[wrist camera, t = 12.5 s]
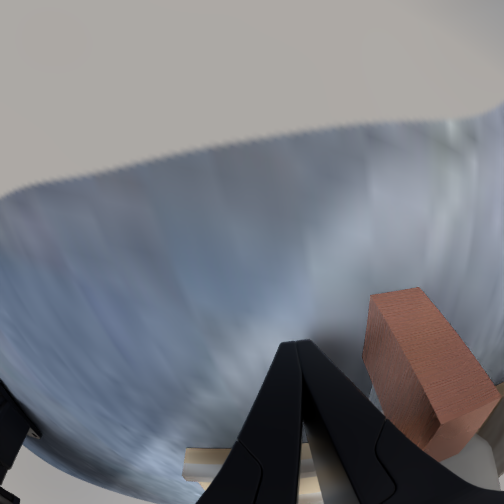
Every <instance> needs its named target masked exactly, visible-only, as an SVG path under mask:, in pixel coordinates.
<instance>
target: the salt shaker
mask: <svg viewBox="0 0 504 504" xmlns="http://www.w3.org/2000/svg"><path fill="white" fill-rule="evenodd" d="M439 463H441V464H442V465H444V466H445V467H446V468H448V469H449V470H451V471H452V472H453V473H455V474H456V475H458V476H459V477H461V478H462V479H464V480H465V481H467V482H469V483H471V484H473V485H475V486H478V487H481V488H485V489H491V490H499V491H501V489H500V483H499V478H498V473H497V469H496V464H495V460H494V456H493V452H492V448H491V446H490V445H489V443H488V442H487V441H486V440H484V439H483V438H482V437H480V436H479V435H477V434H476V433H475V435H474V436H473V437H472V438H471V440H470V441H469V442H468V443H467V444H466V446H465V447H464V448H463V449H462V450H461V451H460V453H459V454H456V455H454V456H452V457H450V458H448V459H445V460H443V461H441V462H439Z"/></svg>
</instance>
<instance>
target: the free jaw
mask: <svg viewBox="0 0 504 504" xmlns="http://www.w3.org/2000/svg"><path fill="white" fill-rule="evenodd" d="M362 358H363V361H364V363H365V366H366V368H367V371H368V373H369V376H370V379H371V381H372V388H371V392H370V396H369V400H370V401H371V402H372V403H373V404H374V405H375V406H376V407H377V408H378V409H379V410H380V411H381V412H382V413H383V414H384V415H385V416H386V419H389V420H390V421H391V422H392V423H393V424H394V425H395V426H396V427H397V428H398V429H399V430H400V431H401V432H402V433H403V434H404V435H405V436H406V437H407V438H408V439H410V440H411V441H412V442H413V443H414V444H416V445H417V446H418V447H419V448H421V449H422V450H423V451H424V452H426V453H427V454H428V455H430V456H431V457H432V458H434V459H435V460H437V461H438V462H441V461H443V460H445V459H448V458H450V457H452V456H454V455H456V454H459V453H460V451H461V450H462V449H463V448H464V447H465V446H466V444H467V443H468V442H469V441H470V440H471V438H472V437H473V436H474V435H475V433H476V432H477V431H478V429H479V428H480V427H481V425H482V424H483V423H484V421H485V420H486V419H487V417H488V416H489V414H490V413H491V412H492V410H493V409H494V407H495V406H496V404H497V403H498V401H499V400H500V398H501V397H502V396H501V395H500V393H499V392H498V390H497V389H496V387H495V386H494V384H493V383H492V381H491V380H490V378H489V377H488V375H487V374H486V372H485V371H484V369H483V368H482V367H481V365H480V364H479V362H478V361H477V360H476V358H475V357H474V355H473V354H472V353H471V351H470V350H469V349H468V347H467V346H466V345H465V343H464V342H463V341H462V339H461V338H460V337H459V335H458V334H457V333H456V331H455V330H454V329H453V328H452V326H451V325H450V324H449V323H448V321H447V320H446V319H445V318H444V316H443V315H442V314H441V313H440V311H439V310H438V309H437V308H436V307H435V305H434V304H433V303H432V302H431V301H430V299H429V298H428V297H427V296H426V295H425V293H424V292H423V291H422V290H421V289H420V288H419V287H417V288H411V289H405V290H399V291H393V292H387V293H381V294H375V295H370V304H369V312H368V320H367V328H366V335H365V342H364V348H363V354H362Z"/></svg>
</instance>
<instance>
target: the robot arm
mask: <svg viewBox="0 0 504 504" xmlns="http://www.w3.org/2000/svg"><path fill="white" fill-rule="evenodd" d="M303 424H304V428H305V432H306V436H307V439H308V443H309V447H310V451H311V455H312V459H313V463H314V467H315V471H316V475H317V479H318V482H319V486H320V490H321V494H322V498H323V502H324V504H504V491H499V490H491V489H485V488H481V487H478V486H475V485H473V484H471V483H469V482H467V481H465V480H464V479H462V478H461V477H459V476H458V475H456V474H455V473H453V472H452V471H451V470H449V469H448V468H446V467H445V466H444V465H442V464H441V463H439V462H438V461H437V460H435V459H434V458H432V457H431V456H430V455H428V454H427V453H426V452H424V451H423V450H422V449H421V448H419V447H418V446H417V445H416V444H414V443H413V442H412V441H411V440H410V439H408V438H407V437H406V436H405V435H404V434H403V433H402V432H401V431H400V430H399V429H398V428H397V427H396V426H395V425H394V424H393V423H392V422H391V421H390V420H389V419H386V416H385V415H384V414H383V413H382V412H381V411H380V410H379V409H378V408H377V407H376V406H375V405H374V404H373V403H372V402H371V401H370V400H369V399H368V398H367V397H366V396H365V395H364V394H363V393H362V392H361V391H360V390H359V389H358V388H357V387H356V386H355V385H354V384H353V383H352V382H351V381H350V380H349V379H348V378H347V377H346V376H345V375H344V374H343V373H342V372H341V371H340V369H339V368H338V367H337V366H336V365H335V364H334V363H333V362H332V361H331V360H330V359H329V358H328V357H327V356H326V355H325V354H324V353H323V352H322V351H321V350H320V349H319V348H318V347H317V346H316V345H315V344H314V343H313V341H312V340H310V339H305V340H297V341H296V342H295V341H288V342H282V343H280V345H279V347H278V350H277V352H276V354H275V357H274V359H273V361H272V364H271V366H270V368H269V371H268V373H267V375H266V377H265V380H264V382H263V384H262V386H261V388H260V391H259V393H258V395H257V397H256V399H255V402H254V404H253V406H252V408H251V410H250V412H249V414H248V416H247V419H246V421H245V423H244V425H243V427H242V429H241V431H240V433H239V435H238V437H237V440H238V441H235V443H234V445H233V447H232V449H231V451H230V453H229V455H228V456H227V458H226V460H225V462H224V464H223V465H222V467H221V469H220V470H219V472H218V473H217V475H216V476H215V478H214V479H213V481H212V482H211V484H210V485H209V487H208V488H207V489H206V491H205V492H204V493H203V494H202V496H201V497H200V498H199V500H198V501H197V502H196V503H195V504H298V502H299V488H300V472H301V454H302V431H303ZM27 435H29V436H31V437H34V438H37V439H41V437H42V434H41V432H40V431H39V430H38V429H37V428H36V427H35V426H34V425H33V424H32V423H31V421H30V420H29V419H28V418H27V417H26V416H25V415H24V413H23V412H22V411H21V410H20V409H19V407H18V406H17V405H16V404H15V402H14V401H13V400H12V399H11V397H10V396H9V395H8V394H7V392H6V391H5V390H4V388H3V387H2V386H1V384H0V485H2V483H3V480H4V478H5V475H6V473H7V471H8V470H10V469H11V468H12V465H13V463H14V461H15V459H16V457H17V454H18V452H19V450H20V448H21V446H22V444H23V442H24V440H25V438H26V436H27ZM0 504H20V498H18V497H17V496H15V495H14V494H12V493H10V492H8V491H6V490H5V489H3V488H2V487H0Z"/></svg>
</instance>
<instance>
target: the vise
mask: <svg viewBox="0 0 504 504" xmlns="http://www.w3.org/2000/svg"><path fill="white" fill-rule="evenodd" d="M495 387H496V389H497V390H498V392H499V393H500V395H501V396H502V397H501V398H500V400H499V401H498V403H497V404H496V406H495V407H494V409H493V410H492V412H491V413H490V414H489V416H488V417H487V419H486V420H485V421H484V423H483V424H482V425H481V427H480V428H479V429H478V431H477V432H476V434H477V435H479V436H480V437H482V438H483V439H484V440H486V441H487V442H488V443H489V445H490V446H491V448H492V452H493V456H494V460H495V464H496V469H497V473H498V478H499V477H500V476H501V475H502V474H503V473H504V382H503V383H501V384H499V385H497V386H495ZM230 451H231V449H200V448H186V452H185V459H184V465H183V472H182V476H183V477H184V479H185V480H186V481H194V482H199V484H200V485H201V486H202V487H203V489H204V490H205V491H206V489H207V488H208V487H209V485H210V484H211V482H212V481H213V479H214V478H215V476H216V475H217V473H218V472H219V470H220V469H221V467H222V465H223V464H224V462H225V460H226V458H227V456H228V455H229V453H230ZM298 504H324V502H323V498H322V494H321V490H320V486H319V482H318V479H317V475H316V471H315V467H314V463H313V459H312V455H311V451H310V447H309V443H303V444H302V454H301V472H300V488H299V502H298Z"/></svg>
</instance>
